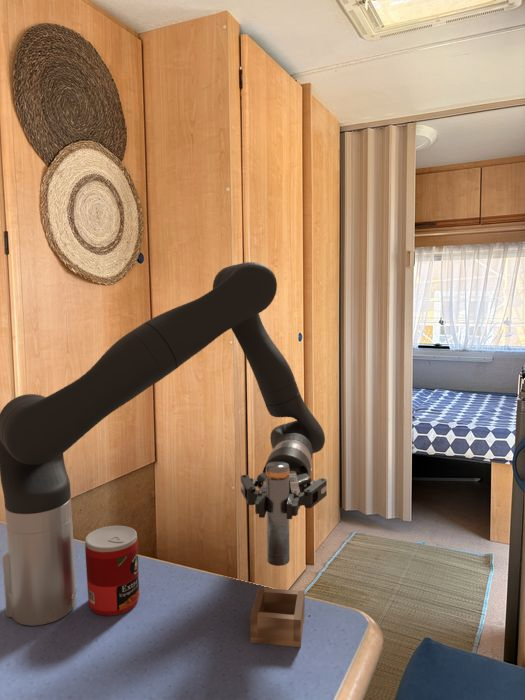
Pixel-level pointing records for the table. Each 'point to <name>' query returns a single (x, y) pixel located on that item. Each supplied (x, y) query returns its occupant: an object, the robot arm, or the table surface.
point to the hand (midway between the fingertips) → (275, 511)
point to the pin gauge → (277, 513)
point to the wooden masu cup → (278, 617)
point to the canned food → (112, 569)
